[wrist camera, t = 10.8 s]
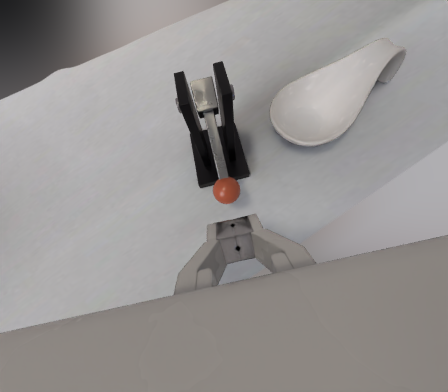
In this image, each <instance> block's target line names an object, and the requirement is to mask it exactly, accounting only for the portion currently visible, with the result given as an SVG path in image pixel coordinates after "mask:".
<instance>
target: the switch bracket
mask: <svg viewBox="0 0 448 392" xmlns="http://www.w3.org/2000/svg"><path fill="white" fill-rule="evenodd" d="M213 68H214V75H215V82H216V89H217V95H218V102H219V109H220V116H221V122H222V126H220V127H217V128H218V133H219V137H220V141H221V146H222V150H223V155H224V159H225V164H226V168H227V172H228V177H231V178H234V179H235V180H238V179H242V178H246V177H249V174H250V173H249V170H248V166H247V163H246V159H245V156H244V153H243V149H242V146H241V142H240V139H239V136H238V132H237V129H236V125H235V123H234V115H233V100H234V99H235V95H234V88H233V85H232V84H231V85H230V84H229V80H228V77H227V74H226V71H225V68H224V64H223V62H218V63H214V64H213ZM174 78H175V84H176V91H177V97H178V98H176V104H177V108H178V110H179V112H180V113H182V114H183V117H184V119H185V121H186V124H187V126H188V128H189V131H190V133H191V134H190V137H191V143H192V149H193V155H194V161H195V166H196V172H197V178H198V184H199V186H200V188H203V187H208V186H212V185H214V184H215V182H216V181H217V180H218V179H219V177H218V173H217V168H216V164H215V160H214V156H213V152H212V147H211V143H210V139H209V135H208V131H207V130H203V131H202V128H201V125H200V121H199V118H198V115H197V112H196V109H195V106H194V103H193V99H192V96H191V93H190V90H189V87H188V84H187V81H186V77H185V74H184V72H183V71H182V72H178V73H174Z"/></svg>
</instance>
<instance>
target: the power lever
mask: <svg viewBox="0 0 448 392" xmlns="http://www.w3.org/2000/svg"><path fill="white" fill-rule="evenodd" d="M190 85H191V89H192V93H193V97H194V101H195V105H196V109H197V112H198V115H199V117H200V118H205V122H206V126H207V131H208V135H209V139H210V143H211V147H212V152H213V156H214V160H215V164H216V168H217V173H218V177H219V179H218V180H217V181H216V182H215V184H214V187H213V194H214V196H215V198H216V199H217V200H218V201H219V202H221V203H223V204H230V203H233V202H234V201H236V200H237V198H238V197H239V195H240V186H239V184H238V182H237V181H236V180H235V179H234V178H231V177H228V172H227V168H226V164H225V159H224V155H223V150H222V146H221V141H220V137H219V133H218V128H217V124H216V119H215V115H216V114H219V109H218V102H217V98H216V93H215V88H214V84H213V79H212V77H207V78H203V79H199V80H195V81H191V82H190Z"/></svg>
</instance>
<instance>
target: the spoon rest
mask: <svg viewBox="0 0 448 392" xmlns="http://www.w3.org/2000/svg"><path fill="white" fill-rule="evenodd" d="M405 55H406V48H404V47H399V46H396V45H394V44H393V43H392V42H391V41H390V40H389V39H388V38H382V39H379V40H376V41H374V42H372V43H370V44H368V45H366V46H365V47H363V48H361V49H359V50H357V51H356V52H354V53H352V54H350V55H348V56H346V57H344V58H342V59H340V60H338V61H335V62H333V63H331V64H329V65H327V66H324V67H322V68H320V69H318V70H316V71H313V72H311V73H309V74H307V75H305V76H303V77H301V78H299V79H297V80H295V81H293V82H291V83H289V84H288V85H286V86H285V87H283V88H282V89H281V90H280V91H279V92H278V93H277V94H276V95H275V97H274V98H273V100H272V102H271V105H270V120H271V123H272V125H273V127H274V128H275V130H276V131H277V132H278V133H279V134H280V135H281V136H282V137H283V138H284V139H286V140H287V141H289V142H291V143H293V144H296V145H301V146H318V145H322V144H325V143H328V142H330V141H332V140H334V139H336V138H338V137H339V136H341V135H342V134H343V133H344V132H345V131H346V130H347V129H348V128H349V127H350V126H351V125H352V123H353V122H354V121H355V119H356V118H357V116H358V114H359V113H360V111H361V109H362V107H363V105H364V103H365V101H366V99H367V97H368V96H369V93H370V92H371V90H372V88H373V86H374V84H375V82H376V80H379V81H380V82H383V83H387V82H389V81H390V80H391V79H392V78H393V77H394V75H395V74H396V73H397V71H398V70H399V68H400V66H401V64H402V62H403V60H404V58H405Z"/></svg>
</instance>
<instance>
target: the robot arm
mask: <svg viewBox="0 0 448 392" xmlns="http://www.w3.org/2000/svg"><path fill="white" fill-rule="evenodd" d="M252 258H256V259H257V260H258V261H259V262H261V263H262V264H263V265H264V266H265V267H266V268H268V269H269V270H270V271H271V272H272V274H268V275H263V276H259V277H254V278H249V279H245V280H240V281H236V282H231V283H227V284H222V285H218V283H219V281H220V279H221V277H222V274H223V272H224V270H225V268H226V266H227V264H230V263H234V262H238V261H242V260H247V259H252ZM217 285H218V286H217ZM0 392H448V235H446V236H441V237H437V238H432V239H428V240H423V241H418V242H414V243H410V244H405V245H400V246H396V247H391V248H386V249H382V250H377V251H373V252H369V253H364V254H359V255H355V256H350V257H346V258H341V259H337V260H332V261H328V262H323V263H319V264H316V262H315V261H314V259H313V258H312V257H311V256H310V254H309V253H308V251H307V250H306V249H305V247H303V246H301V245H300V244H298V243H295V242H293V241H291V240H289V239H287V238H285V237H283V236H281V235H278V234H276V233H274V232H272V231H270V230H268V229H263V227H262V225H261V223H260V221H259V219H258V217H257V215H256V214H252V215H248V216H245V217H241V218H237V219H233V220H227V221H222V222H217V223H213V224H208V225H207V242H205V243H204V244H203V245H202V246H201V247H200V248H199V250H198V251H197V252H196V253H195V254H194V256H193V257H192V258H191V259H190V260H189V262H188V263H187V264H186V265H185V266H184V268H183V269H182V270H181V271H180V272H179V274H178V277H177V282H176V286H175V291H174V295H172V296H168V297H163V298H158V299H154V300H149V301H145V302H140V303H136V304H131V305H126V306H122V307H117V308H113V309H108V310H104V311H99V312H94V313H90V314H85V315H81V316H76V317H71V318H67V319H62V320H58V321H53V322H49V323H44V324H39V325H35V326H30V327H26V328H21V329H16V330H12V331H7V332H3V333H0Z"/></svg>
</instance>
